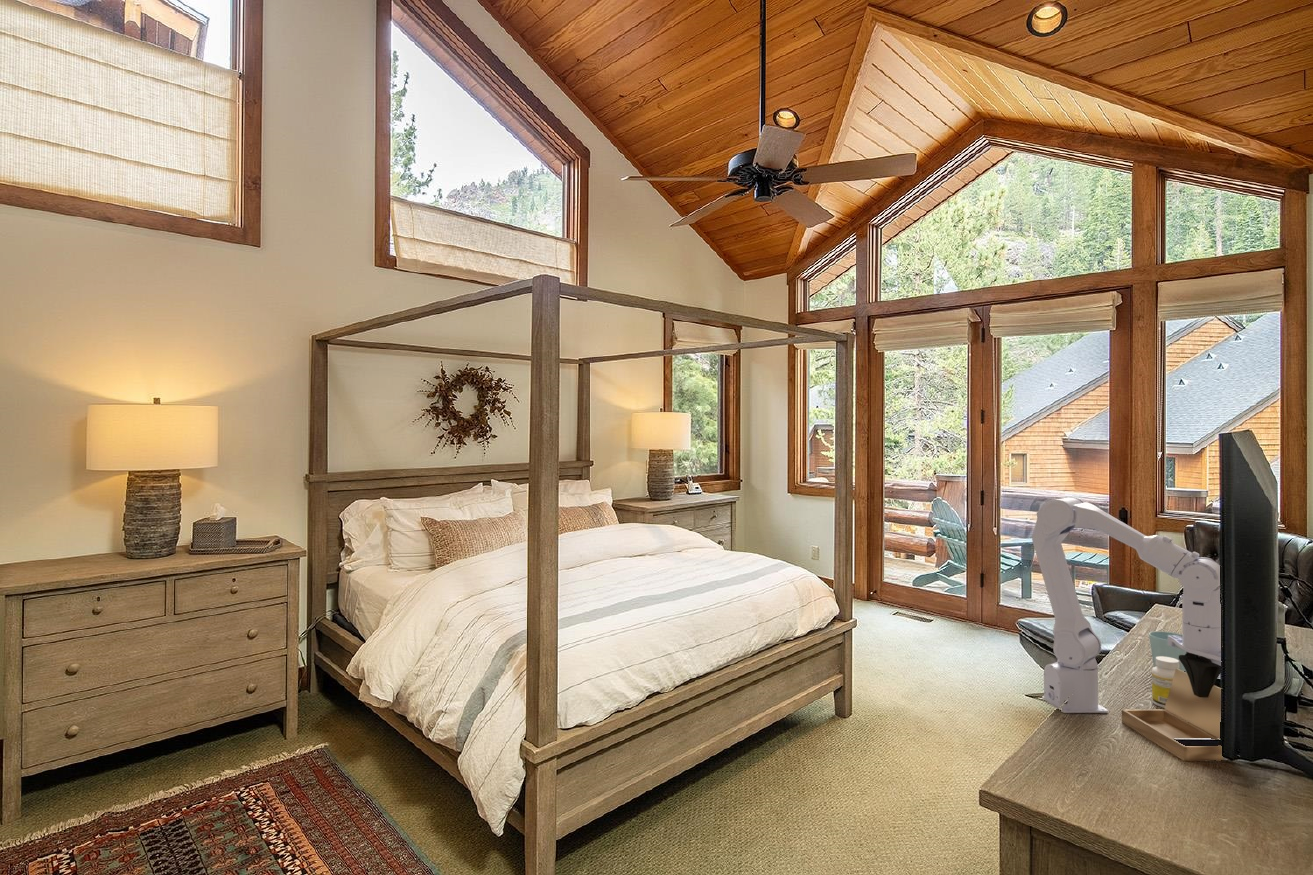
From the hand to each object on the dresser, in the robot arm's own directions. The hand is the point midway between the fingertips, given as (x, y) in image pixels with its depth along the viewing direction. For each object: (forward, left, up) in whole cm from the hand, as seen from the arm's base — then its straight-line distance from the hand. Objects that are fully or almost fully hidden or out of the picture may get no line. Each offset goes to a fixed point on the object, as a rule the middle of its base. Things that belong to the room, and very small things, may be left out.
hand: (1201, 695), depth 125 cm
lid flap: (0, 0, -2) cm, 2 cm away
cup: (+17, +30, -9) cm, 35 cm away
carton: (-5, 0, -8) cm, 10 cm away
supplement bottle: (+6, +16, -9) cm, 19 cm away
